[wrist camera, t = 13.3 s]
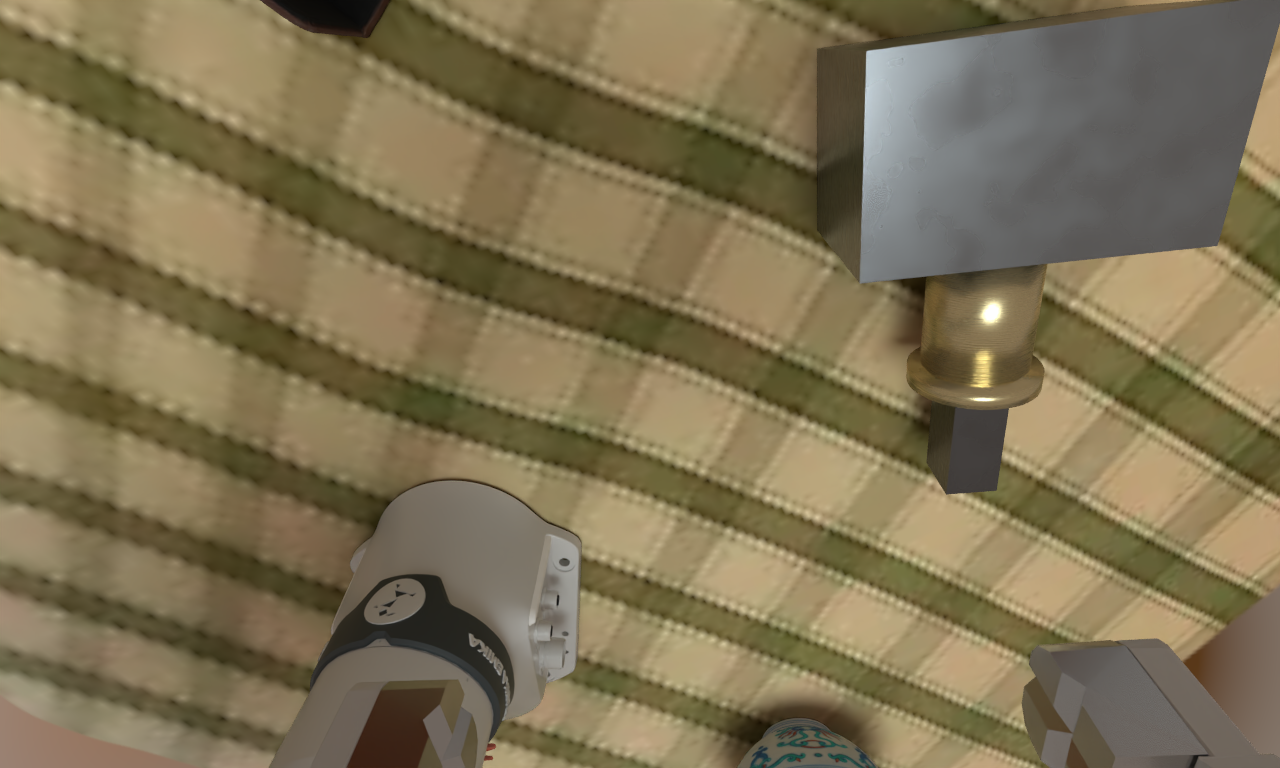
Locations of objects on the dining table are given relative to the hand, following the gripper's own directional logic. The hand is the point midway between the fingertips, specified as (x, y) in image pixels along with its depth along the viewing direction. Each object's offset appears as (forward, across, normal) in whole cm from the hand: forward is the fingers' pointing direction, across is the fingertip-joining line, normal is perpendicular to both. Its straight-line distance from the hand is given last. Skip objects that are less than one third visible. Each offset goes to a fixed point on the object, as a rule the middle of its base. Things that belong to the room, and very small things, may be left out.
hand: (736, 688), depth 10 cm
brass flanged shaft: (+33, -16, +11) cm, 38 cm away
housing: (+34, -16, -2) cm, 38 cm away
